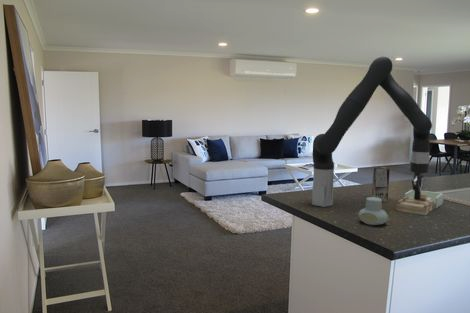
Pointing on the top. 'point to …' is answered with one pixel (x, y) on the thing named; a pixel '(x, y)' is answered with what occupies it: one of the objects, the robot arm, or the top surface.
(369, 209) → the air freshener
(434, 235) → the top surface
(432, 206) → the beige shallow box
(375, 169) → the coffee box
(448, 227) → the top surface
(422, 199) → the tile
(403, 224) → the top surface
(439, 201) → the tray
